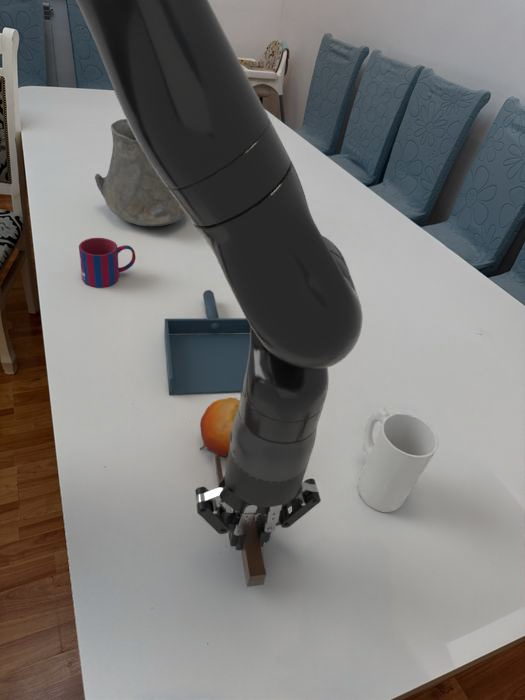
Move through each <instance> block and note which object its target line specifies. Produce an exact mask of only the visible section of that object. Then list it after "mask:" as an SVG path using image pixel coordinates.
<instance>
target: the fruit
mask: <svg viewBox="0 0 525 700" xmlns="http://www.w3.org/2000/svg"><path fill="white" fill-rule="evenodd" d="M239 403H240V399H238V398H236V397H227V398H222V399H217V400H215V401H213V402H212V403H211V404H209V405H208V406H207V407H206V408H205V411H204V412H203V414H202V417H201V418H200V423H199V426H200V427H199V428H200V434H201V440H202V442H203V445H201V447H199V450H200V451H201V450H203V449H205V448H207V450H208V451H209V452H212V453H213V454H215V455H220V457H227V455H228V454H229V448H230V433H231V430H232V428H233V423H234V419H235V416H236V413H237V410H238V407H239Z"/></svg>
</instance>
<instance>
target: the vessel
mask: <svg viewBox="0 0 525 700" xmlns="http://www.w3.org/2000/svg"><path fill="white" fill-rule="evenodd" d="M110 129H111V135H112V152H111V158H110V162H109V168H108V170H107V171H108V172H107V175H106V176H104V177H102V175H101V174H99V173H96V174H95V175H94V180H95V183H96V187H97V189H98V190H99V192H100V193H101V195H102V197H103V199H104V202H105V203H106V206H107V207H108V208H109V210H110V212H112V213H113V214H114V215H116V216H117V217H118V218H119V219H121V220H122V221H124V222H127V223H130V224H133V225H136V226H143V227H163V226H168V225H172V224H175V223H177V222H179V221H181V220H182V219H184V217H185V216H186V214H185V213H184V211H183V210H182V208H181V207H180V205H179V204H178V203H177V201H176V200H175V198H174V197H173V196H172V194H171V193H170V191H169V190H168V189H167V187H166V186H165V184H164V183H163V181H162V180H161V178H160V177H159V176H158V174H157V173H156V171H155V170H154V168H153V166H152V165H151V163H150V162H149V160H148V159H147V157H146V155H145V154H144V152H143V150H142V148H141V147H140V145H139V143H138V141H137V139H136V138H135V136H134V134H133V132H132V130H131V128H130V126H129V124H128V121H127V119H126V118H123V119H122V118H121V119H118V120H116V121H114V122H113V123H112V124H111V125H110Z"/></svg>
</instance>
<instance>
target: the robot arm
mask: <svg viewBox="0 0 525 700" xmlns="http://www.w3.org/2000/svg"><path fill="white" fill-rule="evenodd" d="M75 2H76V3H77V5H78V7H79V10H80V12H81V15H82V16H83V18H84V21H85V23H86V25H87V27H88V31H89V32H90V34H91V37H92V39H93V41H94V43H95V45H96V46H95V47H96V49H97V51H98V53H99V56H100V58H101V61H102V63H103V65H104V68H105V71H106V74H107V76H108V79H109V81H110V83H111V86H112V89H113V92H114V95H115V96H116V100H117V102H118V103H119V106H120V108H121V111H122V113H123V115H124V117H125V119H127V121H128V124H129V126H130V128H131V130H132V132H133V134H134V136H135V138H136V139H137V141H138V143H139V145H140V147H141V148H142V150H143V152H144V154H145V155H146V157H147V159H148V160H149V162H150V163H151V165H152V166H153V168H154V170H155V171H156V173H157V174H158V176H159V177H160V178H161V180H162V181H163V183H164V184H165V186H166V187H167V189H168V190H169V191H170V193H171V194H172V196H173V197H174V198H175V200H176V201H177V203H178V204H179V205H180V207H181V208H182V210H183V211H184V213H185V216H186V217H187V219H188V220H189V221H190V223H192V225H193V227H194V228H195V229H196V231H197V232H198V233H199V234H200V235H201V237H202V238H203V239H204V240H205V242H206V243H207V244H208V246H209V248H210V249H211V250H212V252H213V254H214V256H215V258H216V260H217V262H218V264H219V266H220V269H221V271H222V273H223V276H224V278H225V279H226V282H227V284H228V286H229V288H230V290H231V292H232V293H233V296H234V298H235V300H236V301H237V303H238V305H239V307H240V310H241V311H242V313H243V316H244V318H246V319H247V321H248V322H249V324H250V326H251V327H250V333H249V334H250V349H249V356H248V362H247V367H246V371H245V374H244V379H243V384H242V390H241V392H240V397H239V401H240V403H239V407H238V410H237V413H236V416H235V419H234V423H233V428H232V430H231V433H230V448H229V454H228V460H226V467H225V475H223V479H222V480H221V481H220V482H219V486H217V487H216V488H212V489H210V490H209V489H208V488H207V487H206V486H199V487H197V488H196V489H195V490H194V492H195V503H196V511H197V514H198V515H199V516H200V517H201V518H202V519H203V520H204V521H205V522H206V523H207V524H208V525H210V527H212V529H213V530H214V531H216V533H218V534H219V535H224V534H225V535H226V534H227V533H228V539H229V544H230V547H234V549H235V551H241V550H242V547H243V543H244V540H245V536H246V533H245V531H246V528H247V526H250V523H251V520H252V518H253V515H255V516H256V518H255V519H256V525H257V530H258V536H259V540H260V544H261V549H263V548H264V546H265V544H268V543H269V541H270V539H271V536H272V533H273V532H274V531H275V530H276V527H277V526H280V527H281V528H283V529H286V528H290V527H291V526H292V525H294V524H295V523H296V522H298V521H299V520H300V519H301V518H302V517H304V516H305V515H306V514H307V513H308V512H310V511H311V510H313V508H315V507H316V506H317V505H318V504H319V503H321V501H322V499H321V496H320V493H319V492H320V491H319V489H318V486H317V483H316V480H315V479H314V478H307V479H305V480H304V478H305V475H306V471H307V469H308V466H309V462H310V459H311V455H312V453H313V449H314V446H315V443H316V438H317V431H318V424H319V422H320V418H321V415H322V411H323V408H324V407H325V406H324V405H325V402H326V399H327V395H328V390H329V382H330V381H329V379H330V378H329V368H330V367H332V366H335V365H337V364H339V363H340V362H342V361H343V360H344V359H345V358H346V357H348V355H349V354H350V353H351V352H352V351H353V350H354V348H355V347H356V345H357V343H358V341H359V339H360V336H361V333H362V329H363V328H362V327H363V321H364V320H363V319H364V318H363V308H362V304H361V300H360V298H359V295H358V292H357V288H356V287H355V284H354V281H353V278H352V276H351V272H350V269H349V266H348V264H347V261H346V259H345V257H344V255H343V254H342V252H341V251H340V249H339V248H338V246H336V244H335V243H334V242H332V241H331V239H329V238H328V237H326V236H324V235H322V234H321V232H320V229H318V227H317V225H316V223H315V221H314V219H313V216H312V214H311V211H310V208H309V205H308V201H307V198H306V194H305V191H304V188H303V185H302V182H301V180H300V178H299V174H298V172H297V170H296V168H295V166H294V163H293V161H292V160H291V158H290V156H289V154H288V152H287V150H286V148H285V146H284V144H283V142H282V140H281V138H280V136H279V134H278V132H277V130H276V128H275V126H274V125H273V122H272V120H271V119H270V117H269V115H268V112H267V111H266V109H265V107H264V105H263V103H262V101H261V100H260V97H259V96H258V94H257V92H256V90H255V88H254V87H253V84H252V83H251V81H250V78H249V77H248V75H247V73H246V71H245V69H244V67H243V66H242V64H241V61H240V59H239V58H238V56H237V54H236V52H235V50H234V48H233V46H232V44H231V43H230V41H229V39H228V36H227V34H226V32H225V31H224V29H223V27H222V25H221V23H220V21H219V19H218V17H217V15H216V13H215V11H214V9H213V7H212V6H211V3H210V1H209V0H75ZM303 480H304V481H303ZM221 500H222V501H223V503H224V504H226V505H227V506H228V507H229V508H231V511H227V508H226V507H225V506H224V505H223V504H222V503H220V501H221ZM289 509H291V511H289Z"/></svg>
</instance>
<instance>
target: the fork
mask: <svg viewBox="0 0 525 700" xmlns="http://www.w3.org/2000/svg"><path fill="white" fill-rule="evenodd" d="M225 459H226V461H227V460H228V455H227V456H225ZM214 464H215V471H216V478H217V485H218V486H217V487H219V482H220V481H221V480H222V479H223V478H224V475H223V467H222V461H221V455H218V454H215V456H214ZM220 503H221V504H222V503H224V502H223V501H222V500H221V501H220ZM256 519H257V518H256V514H255V515H253V518H252V520H251V523H250V526H247V528H246V531H245V533H246V536H245V540H244V543H243V547H242V550H240V552H241V553H240V554H241V558H242V565H243V572H244V578H245V583H246V587H247V588H250V587H257V586H264V584H265V580H266V577H267V571H266V566H265V560H264V554H263V550H262V549H263V548H261V544H260V540H259V536H258V530H257V525H256Z"/></svg>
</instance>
